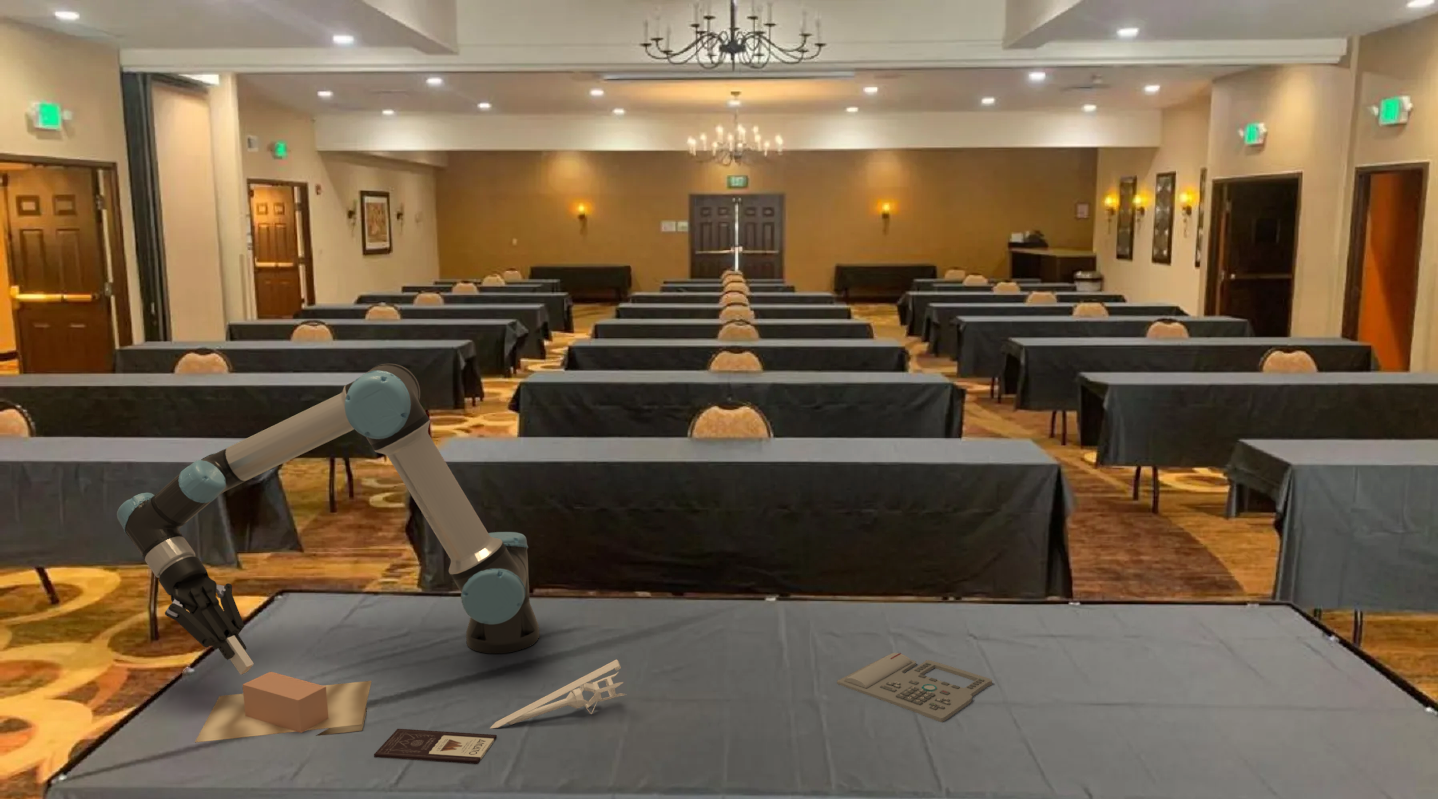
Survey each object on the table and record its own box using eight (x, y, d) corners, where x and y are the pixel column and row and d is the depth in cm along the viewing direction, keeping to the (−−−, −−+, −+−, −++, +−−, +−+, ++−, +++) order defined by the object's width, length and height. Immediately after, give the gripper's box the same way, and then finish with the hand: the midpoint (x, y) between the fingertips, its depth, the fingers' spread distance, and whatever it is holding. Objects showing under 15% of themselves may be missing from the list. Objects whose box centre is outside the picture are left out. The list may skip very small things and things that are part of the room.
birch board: (372, 686, 203) (371, 680, 203) (362, 730, 186) (361, 724, 186) (220, 702, 198) (219, 695, 197) (195, 748, 180) (194, 742, 180)
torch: (513, 764, 191) (638, 698, 193) (493, 743, 184) (623, 675, 187) (504, 735, 195) (627, 671, 198) (485, 713, 188) (612, 648, 191)
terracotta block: (242, 684, 188) (298, 700, 182) (270, 671, 194) (325, 686, 187) (245, 716, 189) (301, 733, 183) (273, 702, 195) (328, 718, 188)
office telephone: (835, 674, 202) (894, 642, 216) (835, 687, 202) (894, 655, 217) (942, 711, 186) (998, 674, 201) (942, 725, 187) (998, 687, 201)
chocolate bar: (397, 728, 186) (496, 734, 183) (398, 733, 186) (496, 739, 183) (373, 754, 177) (477, 761, 174) (374, 759, 177) (477, 766, 174)
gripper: (200, 568, 204) (268, 666, 199) (136, 590, 192) (207, 694, 188) (216, 545, 200) (285, 644, 196) (152, 566, 189) (224, 672, 184)
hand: (247, 669), depth 192 cm, fingers closed
